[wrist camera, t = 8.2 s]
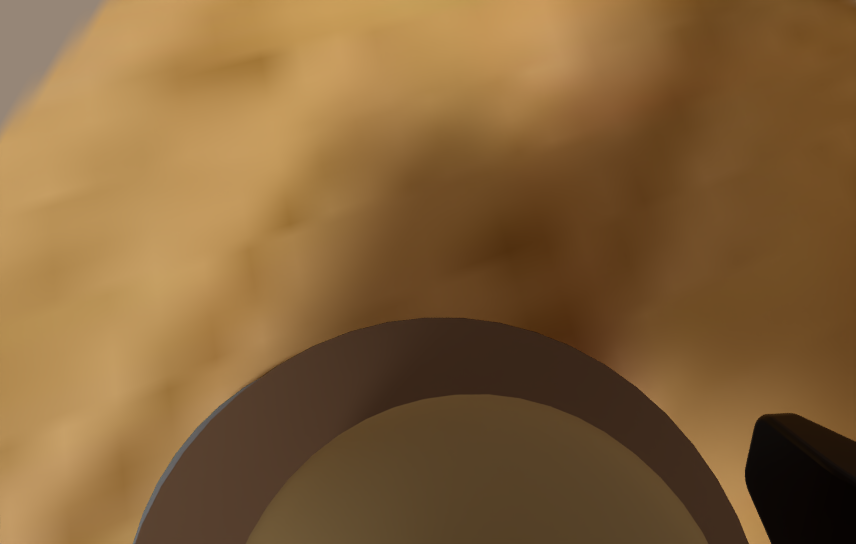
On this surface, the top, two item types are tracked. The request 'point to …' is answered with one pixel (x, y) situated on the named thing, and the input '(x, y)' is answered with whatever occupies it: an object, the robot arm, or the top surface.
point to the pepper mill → (441, 450)
